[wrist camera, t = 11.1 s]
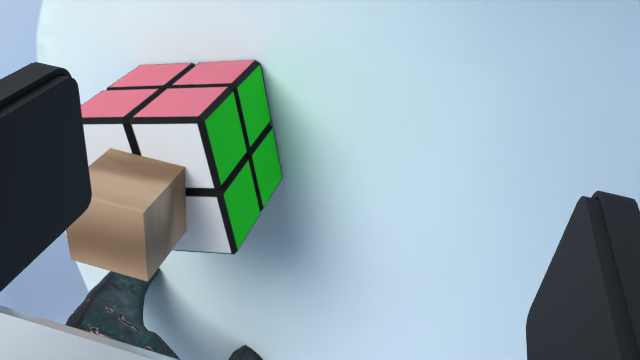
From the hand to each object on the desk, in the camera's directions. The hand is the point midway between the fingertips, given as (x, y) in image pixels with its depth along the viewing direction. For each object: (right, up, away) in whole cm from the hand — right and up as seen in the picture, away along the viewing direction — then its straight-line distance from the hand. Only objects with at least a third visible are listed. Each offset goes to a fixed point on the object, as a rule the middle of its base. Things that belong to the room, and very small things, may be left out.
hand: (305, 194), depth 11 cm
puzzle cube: (-8, +5, +34) cm, 36 cm away
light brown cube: (-11, 0, +26) cm, 28 cm away
